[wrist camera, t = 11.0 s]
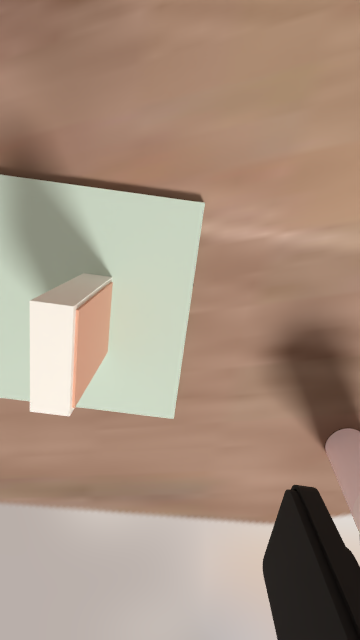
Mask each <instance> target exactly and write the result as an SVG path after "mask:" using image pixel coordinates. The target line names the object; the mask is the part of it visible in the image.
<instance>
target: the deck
mask: <svg viewBox="0 0 360 640" xmlns="http://www.w3.org/2000/svg"><path fill="white" fill-rule="evenodd" d="M112 287H113V282H112V277H109V276H101V275H94V274H86V273H83V274H81V275H79V276H77V277H75V278H73V279H71V280H69V281H67V282H65V283H63V284H61V285H59V286H57V287H55V288H53V289H51V290H49V291H47V292H46V293H44V294H42V295H40V296H38V297H36V298H34V299H32V300H30V412H39V413H47V414H55V415H63V416H70V415H71V413H72V411H73V409H74V408H75V407H76V405H77V403H78V402H79V400H80V398H81V396H82V395H83V393H84V391H85V390H86V388H87V386H88V385H89V383H90V381H91V380H92V378H93V376H94V375H95V373H96V371H97V370H98V368H99V366H100V364H101V363H102V361H103V359H104V358H105V356H106V354H107V353H108V342H109V328H110V314H111V300H112Z"/></svg>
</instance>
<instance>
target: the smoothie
mask: <svg viewBox="0 0 360 640" xmlns="http://www.w3.org/2000/svg"><path fill="white" fill-rule="evenodd" d="M325 450H326V453H327V456H328V458H329V461H330V463H331V465H332V468H333V470H334V473H335V475H336V477H337V480H338V482H339V485H340V487H341V489H342V492H343V494H344V497H345V499H346V502H347V504H348V506H349V509H350V511H351V514H352V516H353V519H354V521H355V524H356V526H357V528H358V531H359V533H360V431H358V430H355V429H350V428H346V429H341V430H338V431H336V432H335V433H333V434H332V435H331V436H330V437H329V438H328V440H327V442H326V445H325ZM359 539H360V534H359Z"/></svg>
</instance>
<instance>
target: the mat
mask: <svg viewBox="0 0 360 640" xmlns="http://www.w3.org/2000/svg"><path fill="white" fill-rule="evenodd" d="M204 205H205V203H202V202H195V201H187V200H180V199H173V198H166V197H159V196H151V195H144V194H137V193H130V192H122V191H115V190H108V189H101V188H94V187H86V186H79V185H72V184H65V183H58V182H50V181H43V180H36V179H29V178H21V177H14V176H7V175H0V398H8V399H16V400H24V401H30V300H32V299H34V298H36V297H38V296H40V295H42V294H44V293H46V292H47V291H49V290H51V289H53V288H55V287H57V286H59V285H61V284H63V283H65V282H67V281H69V280H71V279H73V278H75V277H77V276H79V275H81V274H83V273H86V274H94V275H101V276H109V277H112V282H113V287H112V300H111V314H110V328H109V342H108V353H107V354H106V356H105V358H104V359H103V361H102V363H101V364H100V366H99V368H98V370H97V371H96V373H95V375H94V376H93V378H92V380H91V381H90V383H89V385H88V386H87V388H86V390H85V391H84V393H83V395H82V396H81V398H80V400H79V402H78V403H77V405H76V407H81V408H89V409H97V410H105V411H113V412H122V413H130V414H138V415H146V416H154V417H162V418H170V419H174V413H175V406H176V399H177V392H178V385H179V378H180V371H181V364H182V357H183V351H184V344H185V337H186V330H187V323H188V316H189V309H190V302H191V295H192V288H193V281H194V274H195V268H196V261H197V254H198V247H199V240H200V233H201V226H202V219H203V212H204Z"/></svg>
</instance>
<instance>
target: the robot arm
mask: <svg viewBox="0 0 360 640" xmlns="http://www.w3.org/2000/svg"><path fill="white" fill-rule="evenodd" d="M263 574H264V579H265V584H266V588H267V593H268V598H269V602H270V607H271V611H272V616H273V620H274V625H275V629H276V634H277V639H278V640H360V567H359V565H358V563H357V561H356V559H355V557H354V555H353V554H352V552H351V551H350V550H349V549H348V548H347V547H345V544H344V543H343V541H342V538H341V537H340V534H339V532H338V530H337V528H336V526H335V524H334V522H333V520H332V518H331V516H330V514H329V512H328V510H327V508H326V506H325V504H324V502H323V500H322V498H321V496H320V494H319V492H318V490H317V489H316V488H314V487H307V486H300V485H293V486H292V488H291V490H286V491H285V494H284V497H283V500H282V503H281V506H280V509H279V512H278V515H277V518H276V521H275V524H274V528H273V531H272V534H271V537H270V540H269V543H268V546H267V549H266V552H265V555H264V559H263Z"/></svg>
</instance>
